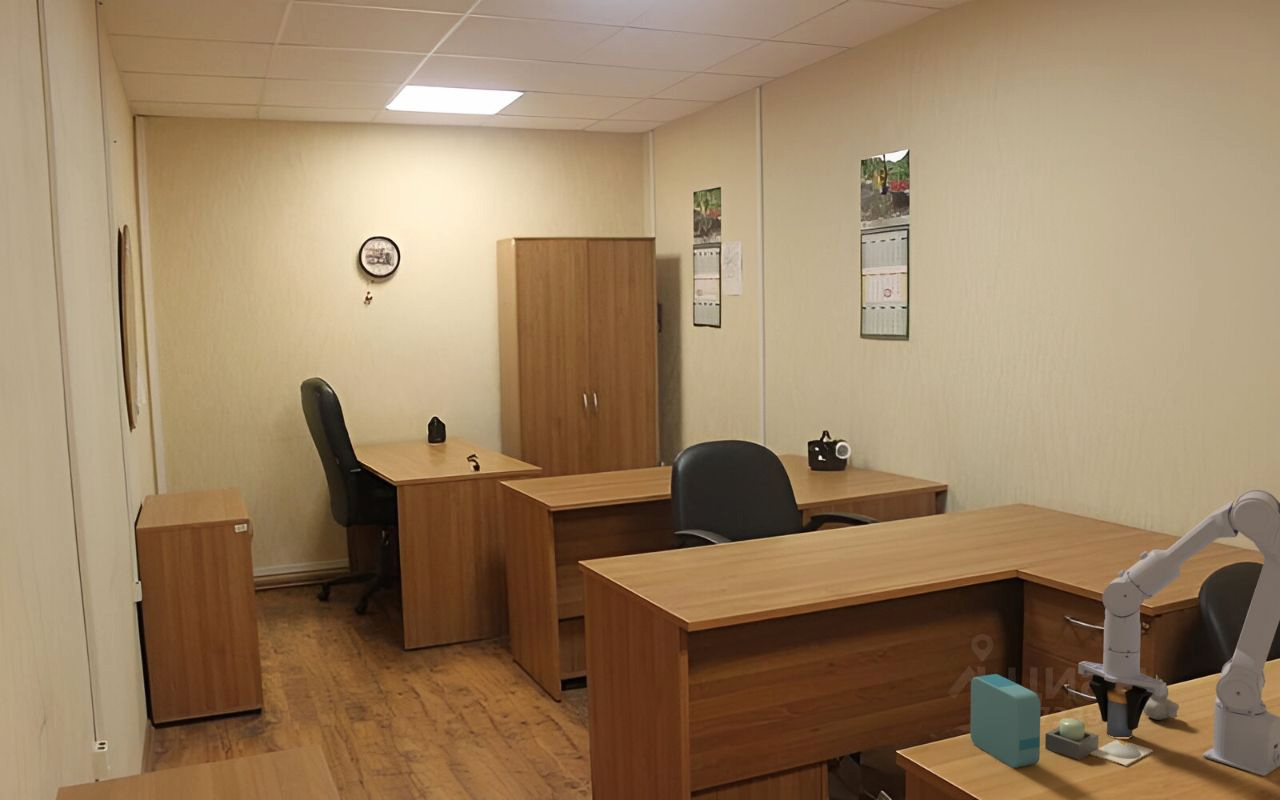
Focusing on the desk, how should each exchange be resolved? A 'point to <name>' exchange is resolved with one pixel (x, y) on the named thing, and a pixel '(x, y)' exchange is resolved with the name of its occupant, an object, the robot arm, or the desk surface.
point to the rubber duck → (1160, 706)
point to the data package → (1005, 720)
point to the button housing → (1071, 744)
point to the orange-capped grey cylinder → (1117, 714)
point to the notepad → (1121, 752)
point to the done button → (1072, 729)
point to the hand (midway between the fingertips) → (1119, 724)
